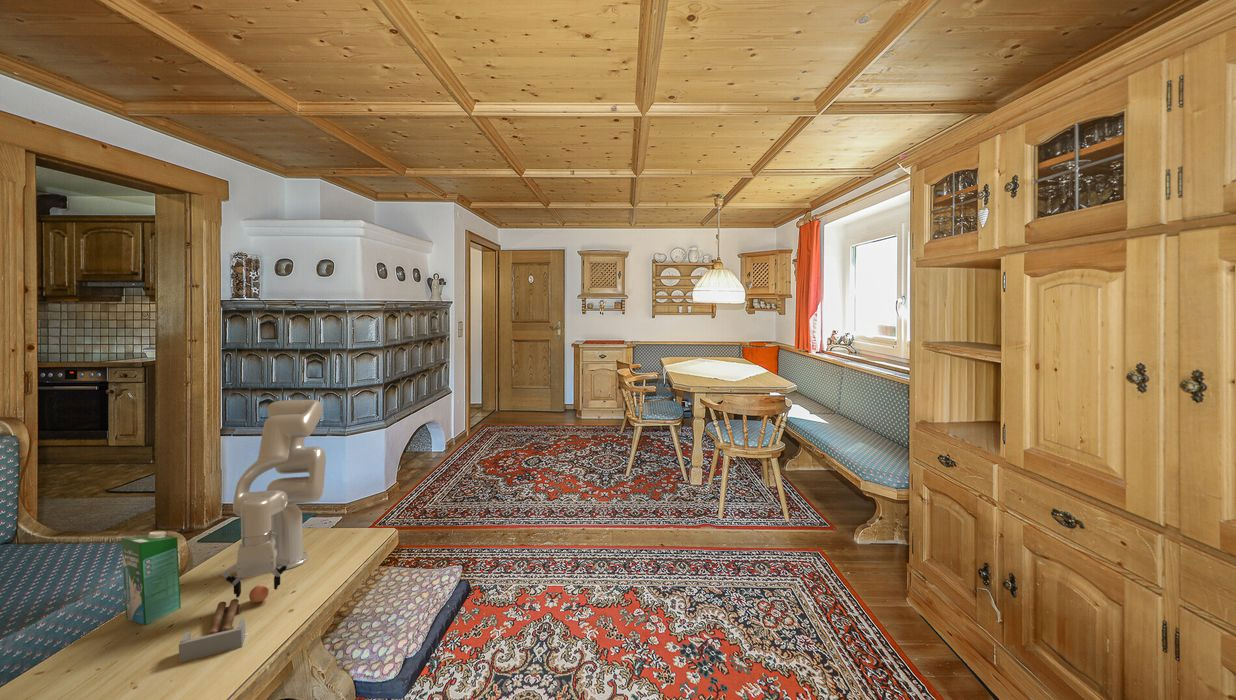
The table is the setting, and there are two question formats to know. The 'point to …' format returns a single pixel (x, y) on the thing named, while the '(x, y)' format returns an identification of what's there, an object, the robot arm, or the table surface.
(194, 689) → the table surface
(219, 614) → the brown piece
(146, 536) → the milk carton
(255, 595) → the ball
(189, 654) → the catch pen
